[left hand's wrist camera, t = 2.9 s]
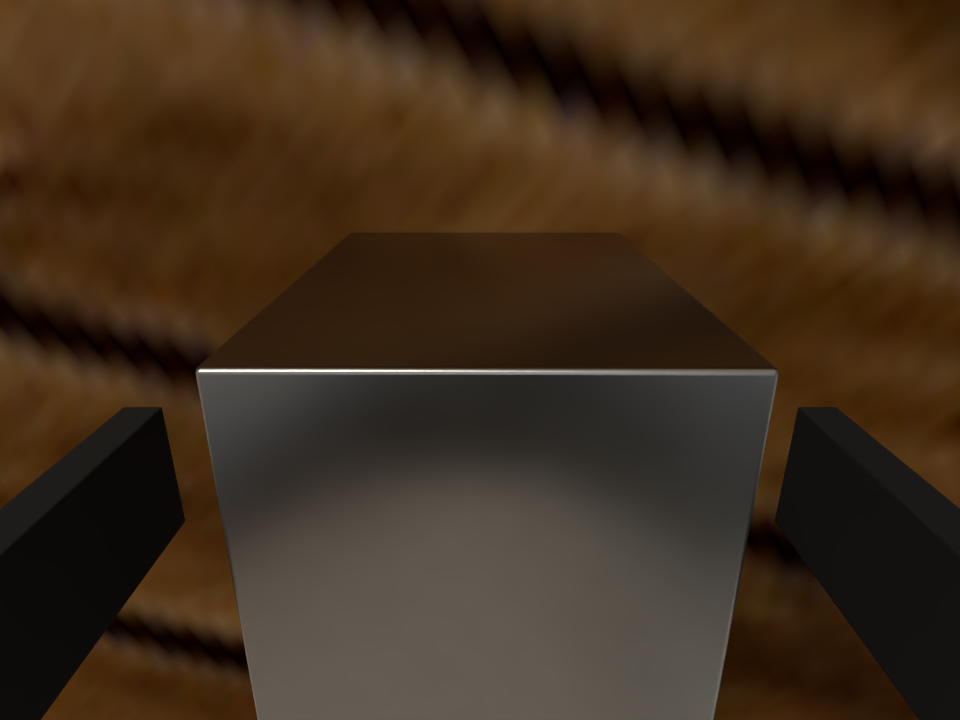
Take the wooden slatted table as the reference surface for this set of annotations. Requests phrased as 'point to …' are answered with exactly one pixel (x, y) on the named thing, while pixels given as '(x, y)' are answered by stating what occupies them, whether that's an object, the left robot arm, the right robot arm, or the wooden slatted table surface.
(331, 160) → the wooden slatted table surface
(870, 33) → the wooden slatted table surface
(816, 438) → the left robot arm
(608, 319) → the bar
